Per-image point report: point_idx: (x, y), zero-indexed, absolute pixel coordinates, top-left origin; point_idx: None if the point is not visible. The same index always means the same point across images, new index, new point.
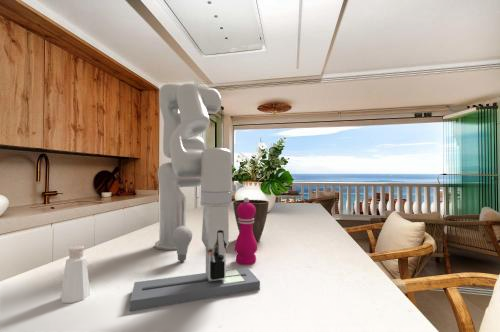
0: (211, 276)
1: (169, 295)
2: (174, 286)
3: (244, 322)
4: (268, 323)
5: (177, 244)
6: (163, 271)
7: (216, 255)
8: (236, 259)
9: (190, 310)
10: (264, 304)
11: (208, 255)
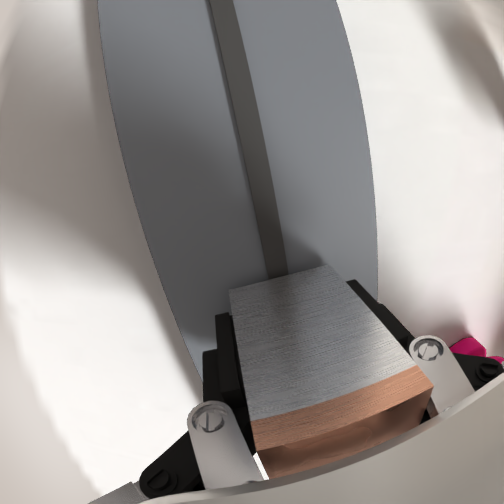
0: (216, 325)
1: (109, 79)
2: (213, 79)
3: (42, 368)
4: (57, 408)
5: None
6: (464, 51)
7: (141, 484)
8: (465, 346)
9: (70, 199)
10: (138, 422)
11: (275, 409)
